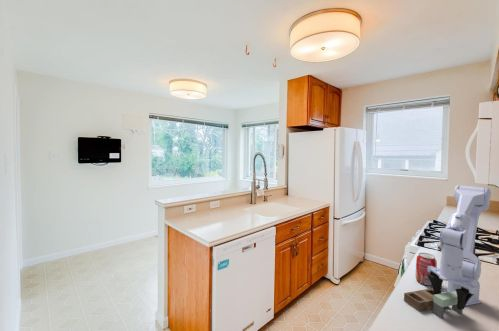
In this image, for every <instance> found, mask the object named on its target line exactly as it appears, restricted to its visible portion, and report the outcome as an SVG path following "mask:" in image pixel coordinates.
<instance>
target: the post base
mask: <svg viewBox="0 0 499 331" xmlns="http://www.w3.org/2000/svg"><path fill="white" fill-rule="evenodd" d="M403 294H404V295H403V301H404V302H405V303H407V305H410V306H411V307H412V308H414V309H415V310H417V311H418V312H422V311H427V310H433V306H434V302H433V297H434V291H433V288H426V289H425V288H424V289H419V290H414V291H408V292H404V293H403Z"/></svg>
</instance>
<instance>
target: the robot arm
mask: <svg viewBox="0 0 499 331" xmlns="http://www.w3.org/2000/svg"><path fill="white" fill-rule="evenodd" d="M491 196H492V191H491V188H490V187H480V186H479V187H478V186H469V185H468V186H467V185H461V184H456V186H455V187H454V191H453V197H454V201H455V203H456V206H457V207H456V211H455V212H454V213H451V214H450V215H449V218H448V219H447V220H448V221H447V224H446V225H445V228H442V229H440V232H439V248H440V249H441V251H440V265H439V266H440V267H439V268H438V267H437V268H435V267H433V266H428V269H427V271H428V272H430V274H428V278H429V280H430V282H431V284H432V285H431V286H432V289H433V291H434V295H436V294H441V293H447V292H452V291H456V293H457V299H458V301H457V308H458V309H459V310H462V309H463V310H465V308H466V306H472V305H477V304H481V303H482V300H480V290H481V287H480V281H479V280H480V277H481V274H482V261H481V259H480V258H479V257H478V256H477V255H475V254H474V246H475V241H476V235H477V229H478V226H479V225H478V223H479V219H480V216H481V214H482V212H487V211H488V210H489V208H490V202H491V199H492V198H491ZM443 282H447V291H442V286H443Z"/></svg>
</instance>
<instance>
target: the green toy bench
mask: <svg viewBox="0 0 499 331" xmlns="http://www.w3.org/2000/svg"><path fill="white" fill-rule="evenodd" d="M446 292H447V291H446ZM457 301H458V299H457V293H456V291H452V292H447V293H442V292H441V294H436V295H434V297H433V302H434V306H433V308H432V313H433V314H434V315H435V316H436V317H438V318H439V319H443V318H444V314H445V308H446V307H451V310H453V312H456V313H458V314H459V315H462V314H463V310H464V309H462V310H459V309H458V308H457Z"/></svg>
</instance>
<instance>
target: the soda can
mask: <svg viewBox="0 0 499 331" xmlns="http://www.w3.org/2000/svg"><path fill="white" fill-rule="evenodd" d="M428 266H433V267H435V268H438V263H437V259H436V256H435V255H433V254H431V253H428V252H419V253H418V254H417V255H416V262H415V279H416V281H417V282H419V283H420V284H421V285H425V286H428V287H429V286H432V284H431V282H430V280H429V278H428V274H430V272H428V271H427V269H428Z"/></svg>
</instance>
